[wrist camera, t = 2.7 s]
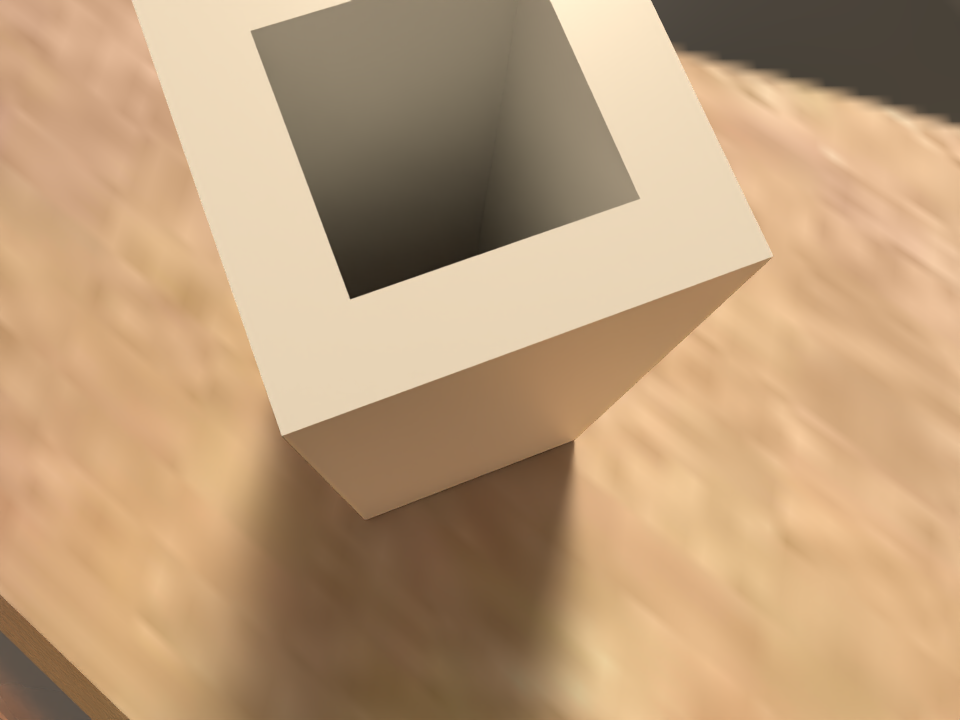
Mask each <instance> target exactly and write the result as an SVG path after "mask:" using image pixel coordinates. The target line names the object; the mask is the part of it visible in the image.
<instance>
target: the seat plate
mask: <svg viewBox="0 0 960 720" xmlns="http://www.w3.org/2000/svg"><path fill="white" fill-rule="evenodd" d="M0 720H129V719H128V718H127V717H126V716H125V715H124V714H123V713H122V712H121V711H120V710H119V709H118V708H117V707H116V706H115V705H114V704H113V703H112V702H111V701H110V700H109V699H108V698H106V697H105V696H104V695H103V694H102V693H101V692H100V691H99V690H98V689H97V688H96V687H95V686H94V685H93V684H92V683H91V682H90V681H89V680H88V679H87V678H86V677H85V676H84V675H83V674H82V673H81V672H80V671H78V670H77V669H76V668H75V667H74V666H73V665H72V664H71V663H70V662H69V661H68V660H67V659H66V658H65V657H64V656H63V655H62V654H61V653H60V652H59V651H58V650H57V649H56V648H55V647H54V646H53V645H51V644H50V643H49V642H48V641H47V640H46V639H45V638H44V637H43V636H42V635H41V634H40V633H39V632H38V631H37V630H36V629H35V628H34V627H33V626H32V625H31V624H30V623H29V622H28V621H27V620H26V619H25V618H23V617H22V616H21V615H20V614H19V613H18V612H17V611H16V610H15V609H14V608H13V607H12V606H11V605H10V604H9V603H8V602H7V601H6V600H5V599H4V598H3V597H2V596H1V595H0Z"/></svg>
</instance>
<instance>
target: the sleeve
mask: <svg viewBox="0 0 960 720" xmlns="http://www.w3.org/2000/svg"><path fill="white" fill-rule="evenodd" d="M132 2H133V5H134V8H135V11H136V14H137V16H138V19H139V22H140V25H141V28H142V31H143V34H144V37H145V40H146V43H147V46H148V48H149V51H150V54H151V57H152V60H153V63H154V66H155V69H156V72H157V75H158V78H159V80H160V83H161V86H162V89H163V92H164V95H165V98H166V101H167V104H168V107H169V110H170V112H171V115H172V118H173V121H174V124H175V127H176V130H177V133H178V136H179V139H180V142H181V144H182V147H183V150H184V153H185V156H186V159H187V162H188V165H189V168H190V171H191V174H192V176H193V179H194V182H195V185H196V188H197V191H198V194H199V197H200V200H201V203H202V206H203V208H204V211H205V214H206V217H207V220H208V223H209V226H210V229H211V232H212V235H213V238H214V240H215V243H216V246H217V249H218V252H219V255H220V258H221V261H222V264H223V267H224V270H225V272H226V275H227V278H228V281H229V284H230V287H231V290H232V293H233V296H234V299H235V302H236V304H237V307H238V310H239V313H240V316H241V319H242V322H243V325H244V328H245V331H246V334H247V336H248V339H249V342H250V345H251V348H252V351H253V354H254V357H255V360H256V363H257V366H258V368H259V371H260V374H261V377H262V380H263V383H264V386H265V389H266V392H267V395H268V398H269V400H270V403H271V406H272V409H273V412H274V415H275V418H276V421H277V424H278V427H279V430H280V432H281V435H282V437H283V438H284V439H285V440H286V441H287V442H288V443H289V444H290V445H291V446H292V447H293V448H294V449H295V450H296V451H297V452H298V453H299V454H300V455H301V456H302V457H303V458H304V459H305V460H306V461H307V462H308V463H309V464H310V465H311V466H312V467H313V468H314V469H315V470H316V471H317V472H318V473H319V474H320V475H321V476H322V477H323V478H324V479H325V480H326V481H327V482H328V483H329V484H330V485H331V486H332V487H333V488H334V489H335V490H336V491H337V492H338V493H339V494H340V495H341V496H342V497H343V498H344V499H345V500H346V501H347V502H348V503H349V504H350V505H351V506H352V507H353V508H354V509H355V511H356V512H357V513H358V514H359V515H360V516H361V517H362V518H363V519H364V520H367V519H370V518H373V517H375V516H378V515H380V514H383V513H386V512H388V511H391V510H393V509H396V508H399V507H401V506H404V505H406V504H409V503H412V502H414V501H417V500H419V499H422V498H425V497H427V496H430V495H432V494H435V493H438V492H440V491H443V490H445V489H448V488H451V487H453V486H456V485H458V484H461V483H464V482H466V481H469V480H472V479H474V478H477V477H479V476H482V475H485V474H487V473H490V472H492V471H495V470H498V469H500V468H503V467H505V466H508V465H511V464H513V463H516V462H518V461H521V460H524V459H526V458H529V457H531V456H534V455H537V454H539V453H542V452H544V451H547V450H550V449H552V448H555V447H557V446H560V445H563V444H565V443H568V442H570V441H573V440H575V439H576V438H577V437H578V436H580V435H581V434H582V433H583V432H584V431H585V430H586V429H587V428H588V427H589V426H590V425H591V424H593V423H594V422H595V421H596V420H597V419H598V418H599V417H600V416H601V415H602V414H603V413H604V412H606V411H607V410H608V409H609V408H610V407H611V406H612V405H613V404H614V403H615V402H616V401H617V400H619V399H620V398H621V397H622V396H623V395H624V394H625V393H626V392H627V391H628V390H629V389H630V388H632V387H633V386H634V385H635V384H636V383H637V382H638V381H639V380H640V379H641V378H642V377H643V376H644V375H646V374H647V373H648V372H649V371H650V370H651V369H652V368H653V367H654V366H655V365H656V364H657V363H659V362H660V361H661V360H662V359H663V358H664V357H665V356H666V355H667V354H668V353H669V352H670V351H672V350H673V349H674V348H675V347H676V346H677V345H678V344H679V343H680V342H681V341H682V340H683V339H685V338H686V337H687V336H688V335H689V334H690V333H691V332H692V331H693V330H694V329H695V328H696V327H698V326H699V325H700V324H701V323H702V322H703V321H704V320H705V319H706V318H707V317H708V316H709V315H711V314H712V313H713V312H714V311H715V310H716V309H717V308H718V307H719V306H720V305H721V304H722V303H723V302H725V301H726V300H727V299H728V298H729V297H730V296H731V295H732V294H733V293H734V292H735V291H736V290H738V289H739V288H740V287H741V286H742V285H743V284H744V283H745V282H746V281H747V280H748V279H749V278H751V277H752V276H753V275H754V274H755V273H756V272H757V271H758V270H759V269H760V268H761V267H762V266H764V265H765V264H766V263H767V262H768V261H769V260H770V259H771V258H772V257H773V254H772V252H771V250H770V248H769V246H768V244H767V242H766V240H765V238H764V235H763V233H762V231H761V229H760V227H759V225H758V223H757V221H756V219H755V217H754V215H753V212H752V210H751V208H750V206H749V204H748V202H747V200H746V198H745V196H744V194H743V192H742V190H741V187H740V185H739V183H738V181H737V179H736V177H735V175H734V173H733V171H732V169H731V167H730V165H729V162H728V160H727V158H726V156H725V154H724V152H723V150H722V148H721V146H720V144H719V142H718V140H717V137H716V135H715V133H714V131H713V129H712V127H711V125H710V123H709V121H708V119H707V117H706V115H705V112H704V110H703V108H702V106H701V104H700V102H699V100H698V98H697V96H696V94H695V92H694V89H693V87H692V85H691V83H690V81H689V79H688V77H687V75H686V73H685V71H684V69H683V67H682V64H681V62H680V60H679V58H678V56H677V54H676V52H675V50H674V48H673V46H672V44H671V42H670V39H669V37H668V35H667V33H666V31H665V29H664V27H663V25H662V23H661V21H660V19H659V17H658V14H657V12H656V10H655V8H654V6H653V4H652V2H651V0H132Z"/></svg>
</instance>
